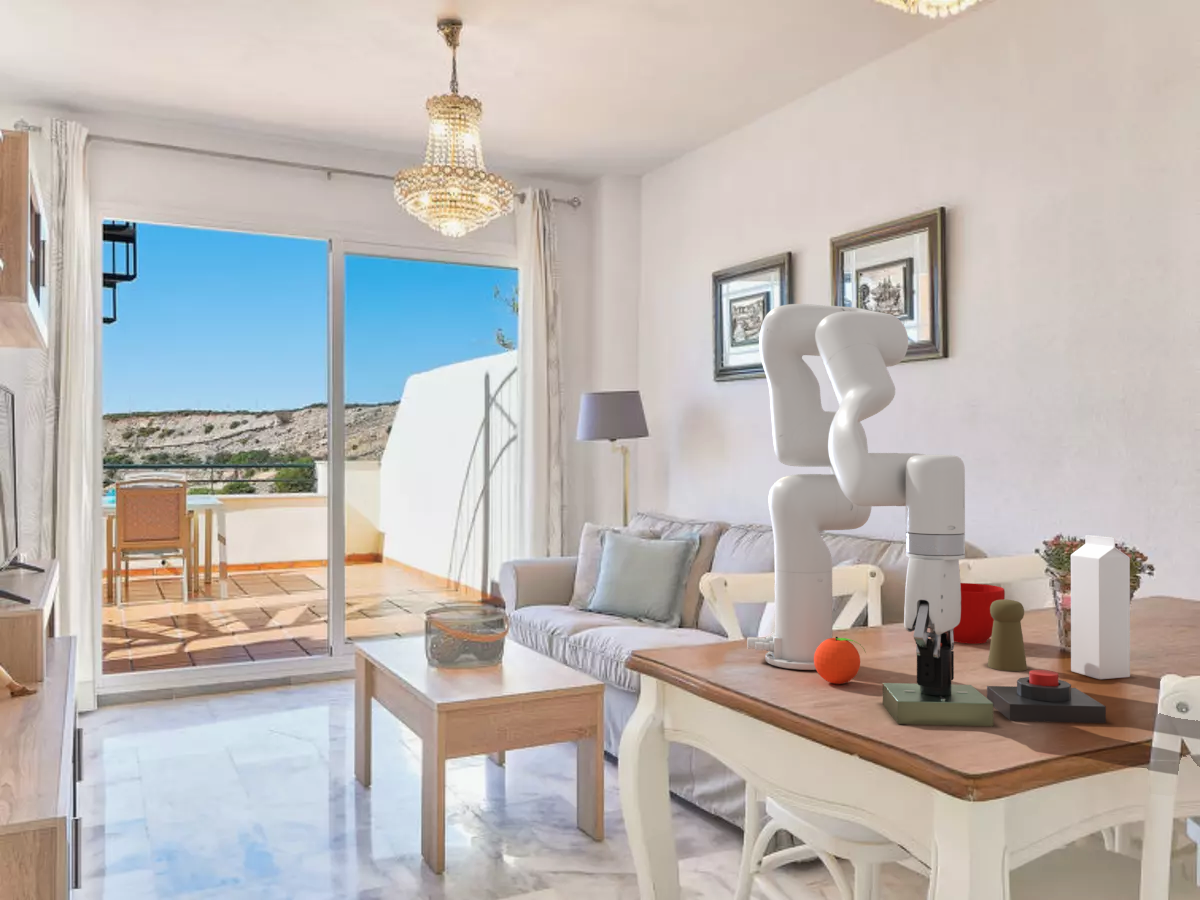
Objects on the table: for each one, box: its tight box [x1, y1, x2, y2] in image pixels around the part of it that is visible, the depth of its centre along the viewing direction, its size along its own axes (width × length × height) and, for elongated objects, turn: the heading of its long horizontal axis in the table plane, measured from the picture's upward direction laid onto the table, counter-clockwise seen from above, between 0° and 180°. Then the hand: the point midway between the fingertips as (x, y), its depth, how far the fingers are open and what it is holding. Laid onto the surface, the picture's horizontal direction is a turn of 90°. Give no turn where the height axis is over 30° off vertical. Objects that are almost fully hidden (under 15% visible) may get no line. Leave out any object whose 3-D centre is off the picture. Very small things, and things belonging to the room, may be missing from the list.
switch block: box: [986, 676, 1107, 724], centre depth 129 cm, size 12×10×4 cm
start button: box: [1028, 669, 1059, 686], centre depth 130 cm, size 4×4×2 cm
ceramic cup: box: [953, 582, 1006, 645], centre depth 180 cm, size 13×17×10 cm
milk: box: [1070, 534, 1131, 680], centre depth 152 cm, size 6×6×22 cm
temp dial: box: [920, 643, 952, 696], centre depth 128 cm, size 4×4×6 cm
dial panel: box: [882, 682, 994, 727], centre depth 128 cm, size 12×10×3 cm
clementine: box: [814, 636, 867, 685], centre depth 146 cm, size 8×7×7 cm
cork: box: [987, 598, 1028, 672], centre depth 157 cm, size 6×6×11 cm
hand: (935, 681), depth 128 cm, fingers closed on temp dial, 4 cm apart
